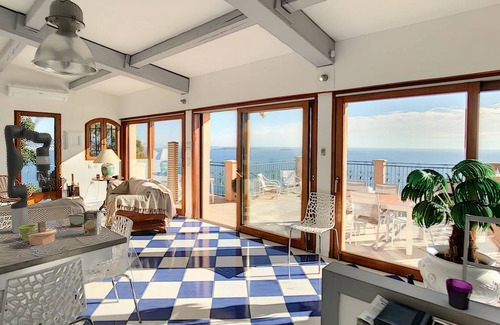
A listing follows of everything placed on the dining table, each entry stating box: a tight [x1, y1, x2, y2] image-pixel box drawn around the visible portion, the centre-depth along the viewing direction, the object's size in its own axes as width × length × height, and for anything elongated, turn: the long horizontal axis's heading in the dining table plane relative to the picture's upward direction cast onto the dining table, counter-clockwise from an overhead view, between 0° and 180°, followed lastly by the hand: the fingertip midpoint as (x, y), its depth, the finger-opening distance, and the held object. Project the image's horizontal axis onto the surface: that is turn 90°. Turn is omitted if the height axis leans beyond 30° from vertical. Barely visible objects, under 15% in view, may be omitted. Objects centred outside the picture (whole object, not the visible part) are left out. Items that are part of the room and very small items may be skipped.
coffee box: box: [83, 210, 102, 236], centre depth 201 cm, size 9×6×16 cm
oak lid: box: [27, 221, 57, 237], centre depth 184 cm, size 15×15×7 cm
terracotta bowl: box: [28, 232, 56, 246], centre depth 184 cm, size 12×12×6 cm
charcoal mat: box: [55, 229, 84, 241], centre depth 200 cm, size 17×17×1 cm
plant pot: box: [19, 224, 38, 241], centre depth 191 cm, size 9×9×9 cm
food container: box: [67, 212, 84, 228], centre depth 222 cm, size 12×6×10 cm, turn 84°
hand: (44, 187), depth 194 cm, fingers open, 8 cm apart
